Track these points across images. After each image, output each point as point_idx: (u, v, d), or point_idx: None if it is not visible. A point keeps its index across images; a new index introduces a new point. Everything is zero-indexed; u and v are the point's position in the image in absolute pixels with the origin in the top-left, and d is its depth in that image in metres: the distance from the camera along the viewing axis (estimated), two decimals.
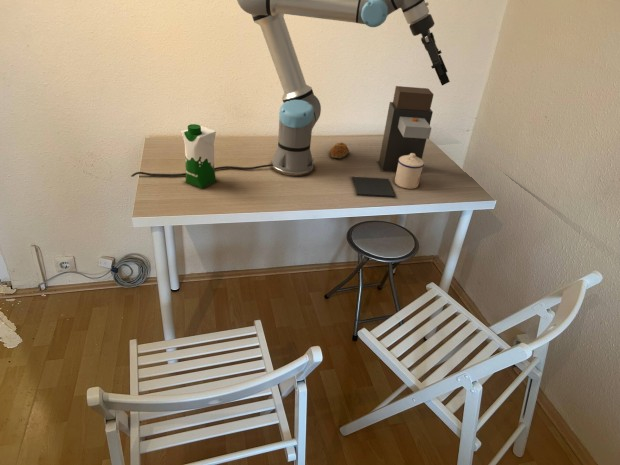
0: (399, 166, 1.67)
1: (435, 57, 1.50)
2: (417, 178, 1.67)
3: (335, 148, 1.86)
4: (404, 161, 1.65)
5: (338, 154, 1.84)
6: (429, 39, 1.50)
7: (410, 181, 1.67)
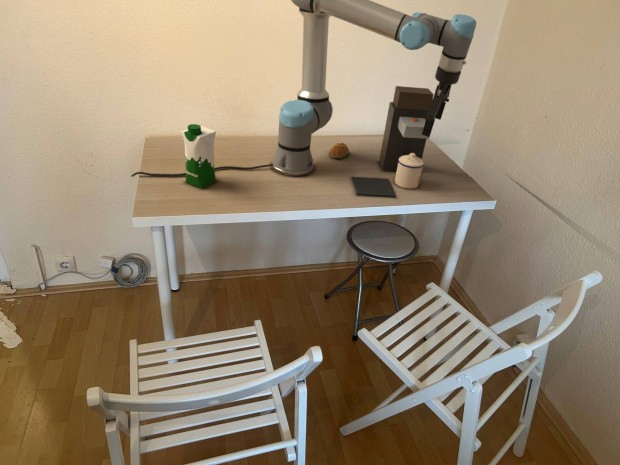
0: (399, 166, 1.67)
1: (432, 113, 1.51)
2: (417, 178, 1.67)
3: (335, 148, 1.86)
4: (404, 161, 1.65)
5: (338, 154, 1.84)
6: (440, 95, 1.49)
7: (410, 181, 1.67)
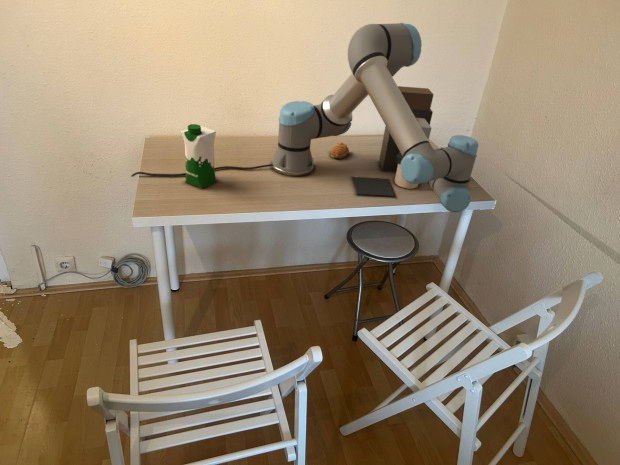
0: (399, 166, 1.67)
1: (400, 162, 1.48)
2: None
3: (335, 148, 1.86)
4: None
5: (338, 154, 1.84)
6: None
7: None
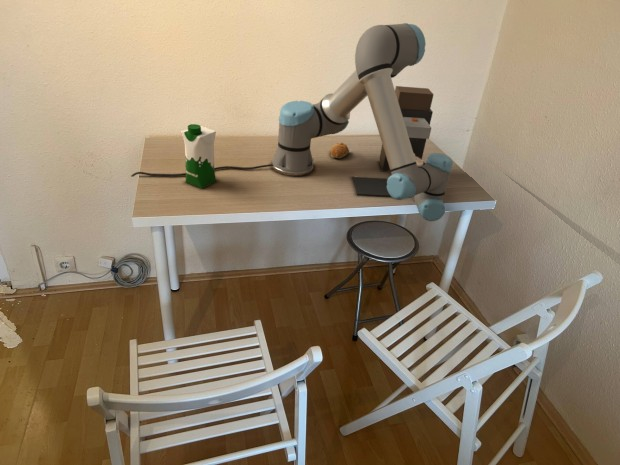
0: None
1: (390, 171, 1.65)
2: None
3: (335, 148, 1.86)
4: None
5: (338, 154, 1.84)
6: None
7: None
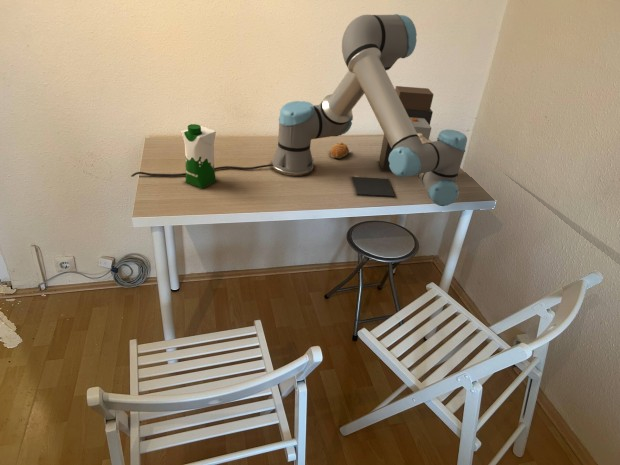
0: None
1: None
2: None
3: (335, 148, 1.86)
4: None
5: (338, 154, 1.84)
6: None
7: None
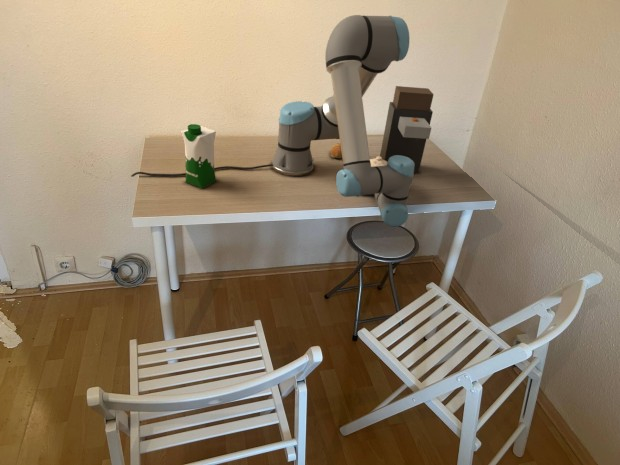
0: None
1: None
2: None
3: (335, 148, 1.86)
4: None
5: (338, 154, 1.84)
6: None
7: None
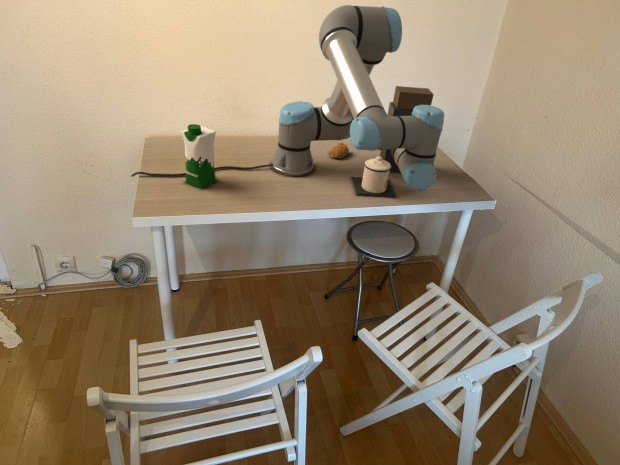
0: (365, 170, 1.60)
1: None
2: (384, 182, 1.61)
3: (335, 148, 1.86)
4: (370, 165, 1.58)
5: (338, 154, 1.84)
6: None
7: (376, 185, 1.60)
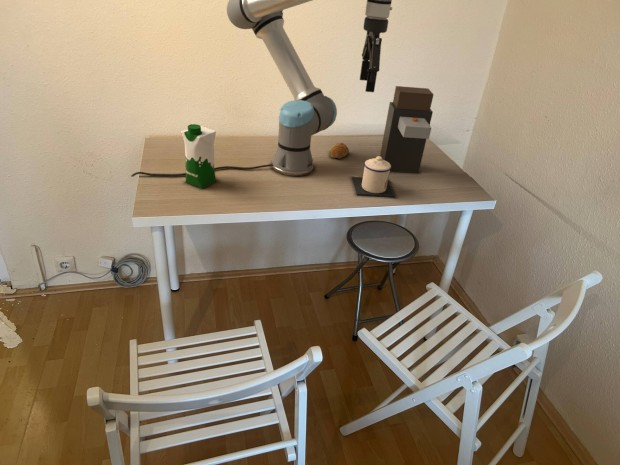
0: (365, 170, 1.60)
1: (376, 63, 1.47)
2: (384, 182, 1.61)
3: (335, 148, 1.86)
4: (370, 165, 1.58)
5: (338, 154, 1.84)
6: (379, 43, 1.46)
7: (376, 185, 1.60)
